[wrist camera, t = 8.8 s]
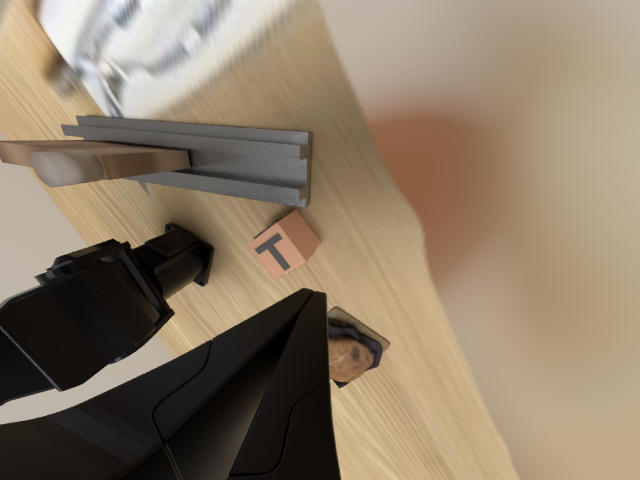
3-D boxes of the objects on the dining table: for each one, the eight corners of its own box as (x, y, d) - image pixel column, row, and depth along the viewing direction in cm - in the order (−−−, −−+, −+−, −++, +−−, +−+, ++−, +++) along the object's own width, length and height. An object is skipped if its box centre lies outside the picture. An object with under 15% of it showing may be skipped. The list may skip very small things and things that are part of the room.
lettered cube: (321, 242, 22) (306, 262, 18) (292, 259, 24) (274, 280, 20) (295, 207, 21) (275, 221, 18) (268, 227, 23) (244, 244, 20)
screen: (186, 147, 21) (49, 154, 13) (190, 170, 22) (64, 189, 13) (94, 138, 24) (-65, 138, 16) (101, 158, 25) (-47, 168, 16)
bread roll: (334, 298, 25) (325, 321, 22) (398, 342, 25) (397, 373, 21) (293, 345, 30) (280, 370, 27) (345, 383, 30) (338, 412, 27)
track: (312, 132, 18) (300, 131, 16) (309, 204, 21) (298, 212, 19) (86, 116, 25) (56, 114, 22) (105, 173, 27) (80, 176, 25)
